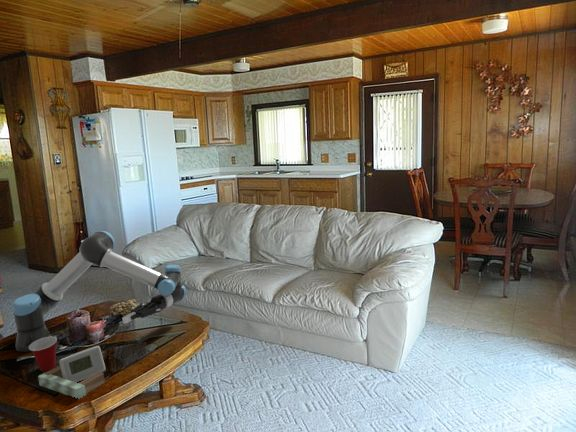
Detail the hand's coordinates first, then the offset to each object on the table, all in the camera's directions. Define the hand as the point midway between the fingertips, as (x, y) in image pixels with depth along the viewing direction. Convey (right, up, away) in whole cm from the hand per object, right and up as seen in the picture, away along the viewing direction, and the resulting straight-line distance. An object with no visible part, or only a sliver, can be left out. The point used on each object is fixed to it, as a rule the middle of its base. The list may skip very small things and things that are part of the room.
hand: (123, 320), depth 197 cm
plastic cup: (-30, -19, -8) cm, 36 cm away
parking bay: (-12, -20, -21) cm, 31 cm away
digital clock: (-9, -19, -17) cm, 27 cm away
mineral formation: (-16, -8, +45) cm, 48 cm away
